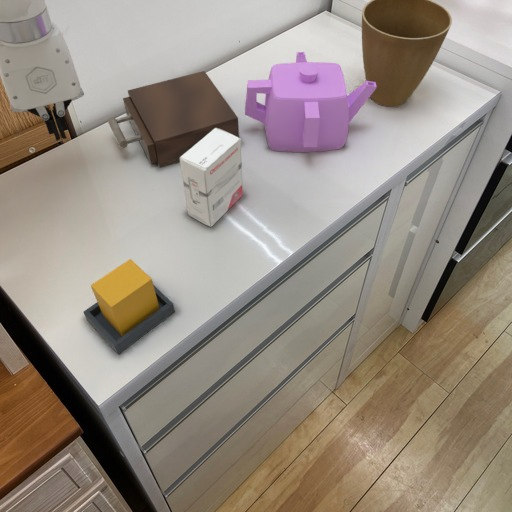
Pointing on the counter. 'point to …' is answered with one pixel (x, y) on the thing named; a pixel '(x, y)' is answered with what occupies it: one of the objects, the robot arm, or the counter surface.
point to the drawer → (138, 128)
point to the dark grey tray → (123, 342)
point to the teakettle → (305, 105)
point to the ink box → (212, 176)
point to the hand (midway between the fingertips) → (59, 134)
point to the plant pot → (401, 45)
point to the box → (126, 296)
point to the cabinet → (182, 114)
